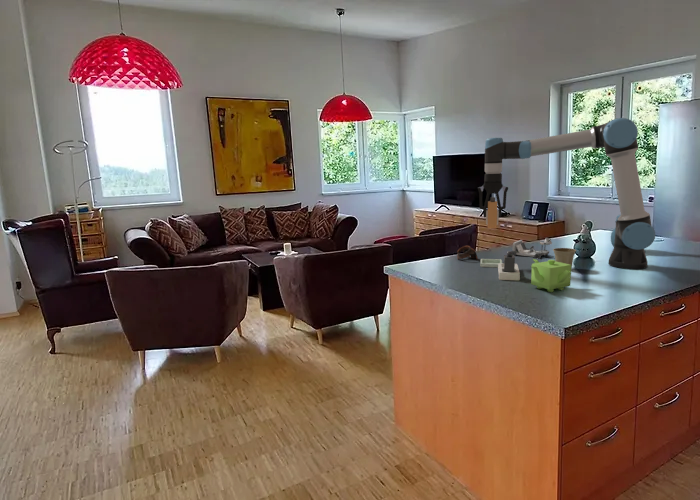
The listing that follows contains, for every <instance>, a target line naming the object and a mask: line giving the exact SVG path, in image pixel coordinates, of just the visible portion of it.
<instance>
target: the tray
mask: <svg viewBox="0 0 700 500" xmlns="http://www.w3.org/2000/svg"><path fill="white" fill-rule="evenodd" d="M498 263H503V260H502V259H501V258H498V259H495V258H480V263H479V265H480V268H498Z"/></svg>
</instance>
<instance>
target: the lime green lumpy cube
mask: <svg viewBox="0 0 700 500" xmlns="http://www.w3.org/2000/svg"><path fill="white" fill-rule="evenodd" d="M532 261H534V262H532V263H531V266H530V268H531V278H530V279H531V281H530V285H533V286H535V288H536V289H539V290H540V289H545V290H546V291H547V292H548V293H554V290H556V289H558V290H559V291H565V288H567V287H571V281H572V268H571V265H570V264H565V263H561V262H557V261H555V259H548V260H547V261H541V262H540V261H539V259H537V258H532Z"/></svg>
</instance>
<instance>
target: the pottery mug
mask: <svg viewBox="0 0 700 500" xmlns="http://www.w3.org/2000/svg"><path fill="white" fill-rule="evenodd" d="M456 252H457V253H456V255H457V256H456V257H457V259H456V260H462V259H466V258H471V259H476V260H477V261H478V260H479V259H478V257H479V256H478V254H477V252H476V250H475V248H472V247H471V246H470V245H463V246H462V247H459V248H458V250H457V251H456ZM461 252H463V253H461Z"/></svg>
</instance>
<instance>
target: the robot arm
mask: <svg viewBox="0 0 700 500" xmlns="http://www.w3.org/2000/svg"><path fill="white" fill-rule="evenodd" d="M638 132H639V129H638V126H637V124H636V123H635V122H634V121H633V120H631V119H629V118H626V117H618V118H615V119H611V120H610V121H608V122H605V123H602V124H598V125H595V126H594V125H593V126H592V127H591V128H589V129H585V130H580V131H574V132H569V133H563V134H562V133H561V134H557V135H551V136H546V137H544V136H543V137H540V138H534V139H529V140H522V141H521V140H520V141H519V140H518V141H504V138H503V137H490V138H489V137H488V138H486V140H485V146H484V172H485V174H484V180H483V181H484V183H483V185H482V186H479V187H477V190H478V194H479V195H478V198H479V199H478V200H479V203H478V204H479V209H480V210H482V211H483V218H485V225H486V226H488V201H490V195H492V194H494V195H495V199H496V201H497V226H499V218H501V217H502V210H505V209H506V206H507V194H508V193H507V192H508V191H509V187H508V186H505V185H504V184H503V182H502V181H503V173H502V172H503V160H525V159H531V157H536V156H541V155H548V154H555V153H561V152H567V151H574V150H579V149H586V148H592V149H601V148H602V149H603V148H604V150H605V151H604V152H605V156H606V157H608V158H610V161H611V168H612V171H613V177H614V182H615V189H616V193H617V194H616V195H617V199H618V200H617V201H618V207H619V210H620V211H619V212H620V214H618V215H616V218H615V227H616V228H615V227H614V229H615V241H614V247H613V249H612V251H611V254H610V257H608V265H609V266H611V267H614V268H618V269H627V270H628V269H629V270H641V269H642V270H643V269H646V268H647V267H648V259H647V256H646V251H645V249H647V248H648V247H650V246H651V245H652V244H653V243H654V241H655V239H656V231H655V228H654V227H653V226H652V220H651V214H650V213H649V212H648V211H647V210H645V205H644V200H643V194H642V188H641V181H640V176H639V169H638V165H637V158H636V152H637V150H638V149H639V144H638V139H637V138H638ZM484 190H485V191H486V198H485V201H484V205H483V191H484ZM501 190H502V192H503V197H502V204H501V199H500V194H499V192H500V191H501Z"/></svg>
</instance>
